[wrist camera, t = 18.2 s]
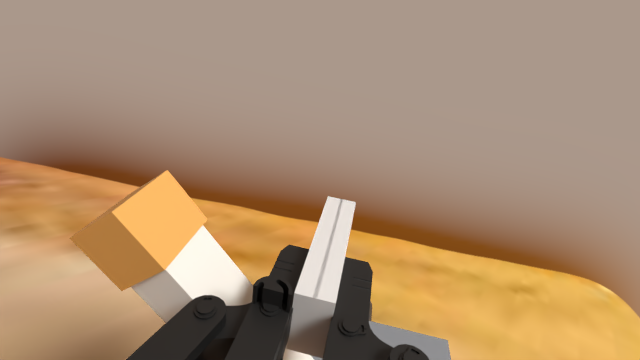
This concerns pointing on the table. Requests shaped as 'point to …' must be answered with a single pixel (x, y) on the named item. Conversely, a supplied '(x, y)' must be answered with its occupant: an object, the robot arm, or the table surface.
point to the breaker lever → (164, 251)
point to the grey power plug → (409, 340)
